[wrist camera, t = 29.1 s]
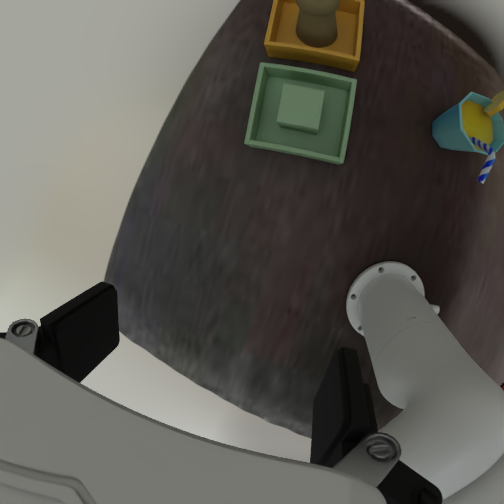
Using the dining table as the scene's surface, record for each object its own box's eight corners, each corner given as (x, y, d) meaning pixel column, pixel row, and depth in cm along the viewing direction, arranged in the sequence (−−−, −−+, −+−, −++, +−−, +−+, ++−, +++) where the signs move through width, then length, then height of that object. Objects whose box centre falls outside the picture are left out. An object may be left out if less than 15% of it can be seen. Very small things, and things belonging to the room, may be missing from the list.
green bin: (352, 89, 33) (357, 79, 28) (339, 164, 36) (343, 163, 32) (265, 73, 34) (260, 62, 30) (251, 146, 37) (244, 143, 33)
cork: (300, 12, 30) (296, -30, 19) (340, 21, 29) (348, -19, 19) (291, 42, 32) (284, 3, 21) (333, 52, 31) (340, 15, 21)
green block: (322, 101, 33) (325, 90, 29) (317, 135, 35) (318, 129, 30) (286, 94, 34) (283, 83, 29) (280, 127, 36) (276, 121, 31)
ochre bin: (360, 14, 28) (364, 0, 24) (354, 72, 32) (359, 61, 28) (280, 1, 30) (277, -15, 26) (268, 57, 33) (263, 44, 29)
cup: (447, 191, 33) (507, 204, 19) (406, 164, 34) (457, 161, 20) (474, 115, 29) (533, 100, 15) (436, 86, 29) (487, 55, 15)
